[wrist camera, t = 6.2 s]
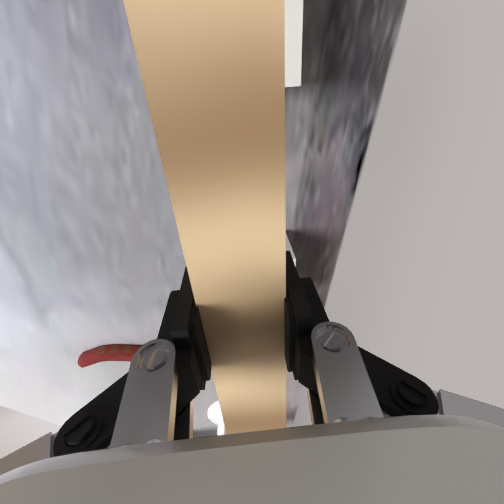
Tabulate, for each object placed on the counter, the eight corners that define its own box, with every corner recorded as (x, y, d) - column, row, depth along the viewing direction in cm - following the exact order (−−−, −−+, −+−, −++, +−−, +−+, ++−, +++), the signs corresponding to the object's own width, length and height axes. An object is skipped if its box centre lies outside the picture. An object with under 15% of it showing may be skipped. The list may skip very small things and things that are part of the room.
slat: (115, -244, 6) (-62, -774, 2) (251, -251, 6) (280, -774, 2) (238, 422, 20) (239, 490, 16) (277, 418, 20) (286, 484, 17)
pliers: (231, 356, 43) (231, 370, 40) (124, 387, 45) (119, 402, 43) (201, 310, 37) (199, 324, 34) (79, 349, 39) (70, 364, 37)
